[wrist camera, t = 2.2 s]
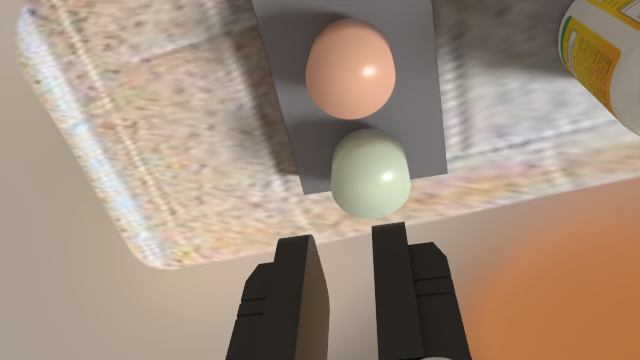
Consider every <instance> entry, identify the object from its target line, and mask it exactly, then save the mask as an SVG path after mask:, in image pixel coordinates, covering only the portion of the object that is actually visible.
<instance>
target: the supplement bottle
mask: <svg viewBox="0 0 640 360" xmlns="http://www.w3.org/2000/svg"><path fill="white" fill-rule="evenodd" d="M558 50H559V55H560V58H561V60H562V63H563V64H564V66H565V68H566V69H567V70H568V71H569V72H570V73H571V74H572V75H573V76H574V77H575V78H576V79H577V80H578V81H579V82H580V83H581V84H582V85H583V86H584V87H585V88H586V89H587V90H588V91H589V92H590V93H591V94H592V95H593V96H594V97H596V99H597V100H598V101H599V102H600V103H602V104H603V105H604V106H605V107H606V108H607V109H608V110H609V111H610V112H611V113H612V115H614V116H615V117H616V118H617V119H618V120H619V121H620V122H621V123H622V124H623V125H624V126H625V127H626V128H628V129H629V130H630V131H632V132H633V133H635V134H637V135H639V136H640V0H575V1H574V2H573V3H572V4H571V6H570V7H569V9H568V10H567V12H566V14H565V16H564V18H563V20H562V22H561V25H560V30H559V36H558Z"/></svg>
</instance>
